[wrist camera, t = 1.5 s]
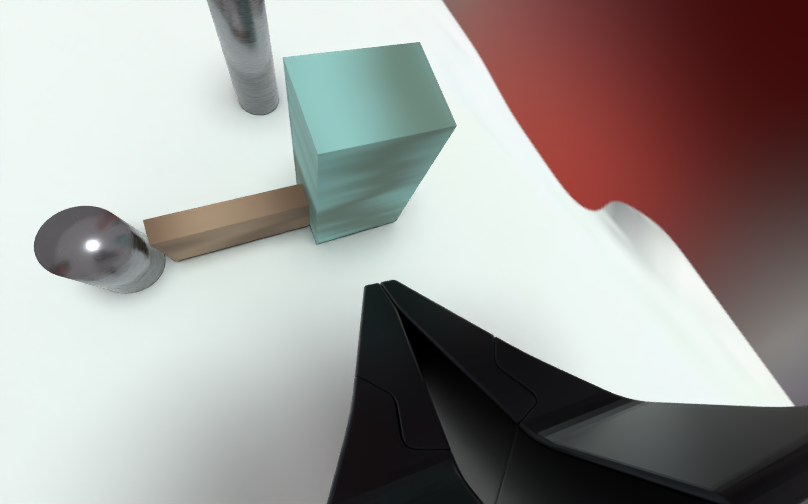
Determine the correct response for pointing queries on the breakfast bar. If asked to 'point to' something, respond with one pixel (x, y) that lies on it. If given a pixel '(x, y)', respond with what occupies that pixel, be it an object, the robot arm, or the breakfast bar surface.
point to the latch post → (247, 52)
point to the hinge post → (98, 250)
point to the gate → (333, 153)
